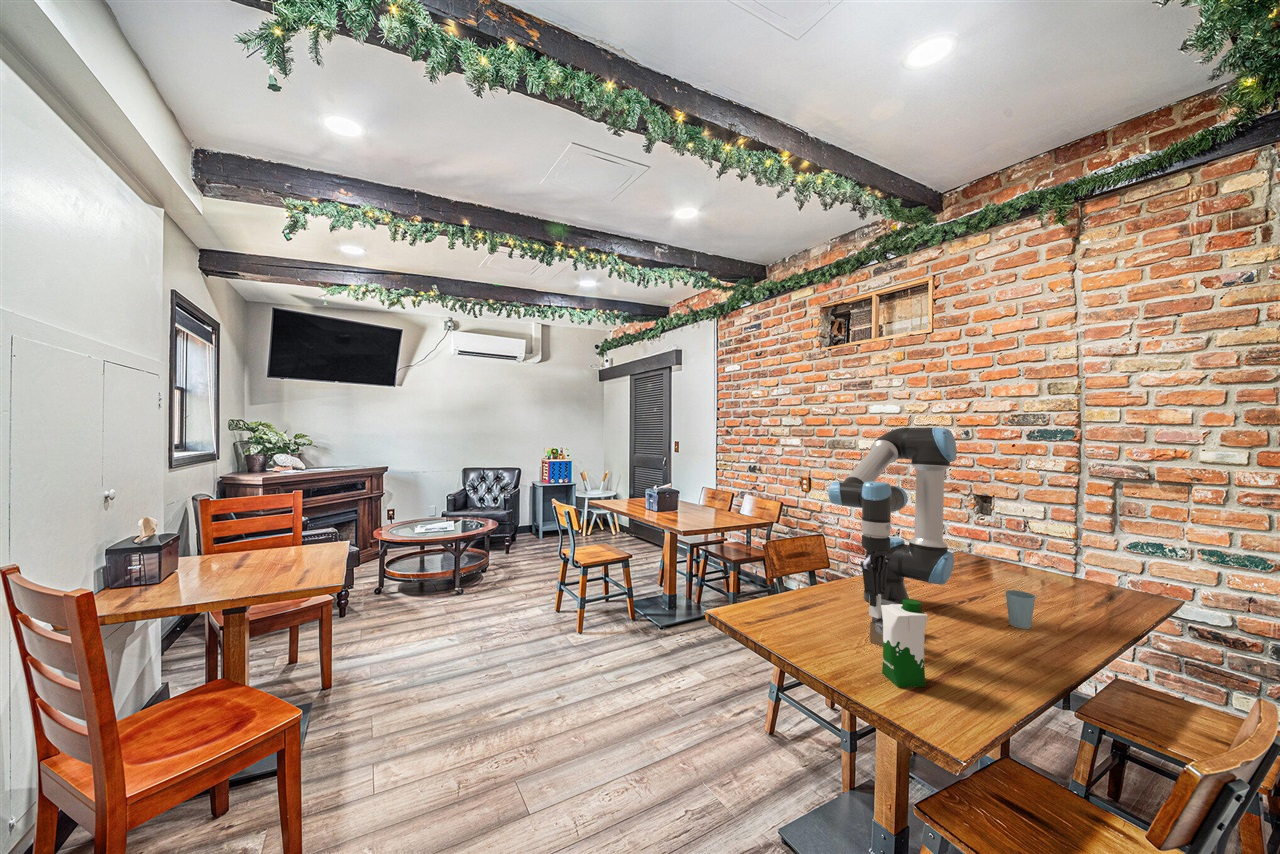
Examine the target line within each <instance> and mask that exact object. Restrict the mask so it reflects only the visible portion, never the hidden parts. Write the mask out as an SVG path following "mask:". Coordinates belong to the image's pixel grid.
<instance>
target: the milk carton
mask: <svg viewBox="0 0 1280 854" xmlns="http://www.w3.org/2000/svg"><path fill="white" fill-rule="evenodd" d="M881 610H882V618H883V647H882V667H881V668H882V670H881V671H882V672H881V674H882V675H883V674H884V675H885V676H884V675H883V676H884V677H886V678H887V679H888V680H889V681H890V682H891V681H892V682H891V683H893V684H894V685H895V686H896V687H897V688H899V689H900V688H902V689H903V688H904V689H905V688H924V687H926V675H925V674H926V673H925V670H926V669H925V631H926V627H927V622H928V617H929V615H928V614H927V613H925V612H924V611H922V610H921V602H920V601H918V600H917V599H913V598H909V599H903V604H890V605H881Z"/></svg>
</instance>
